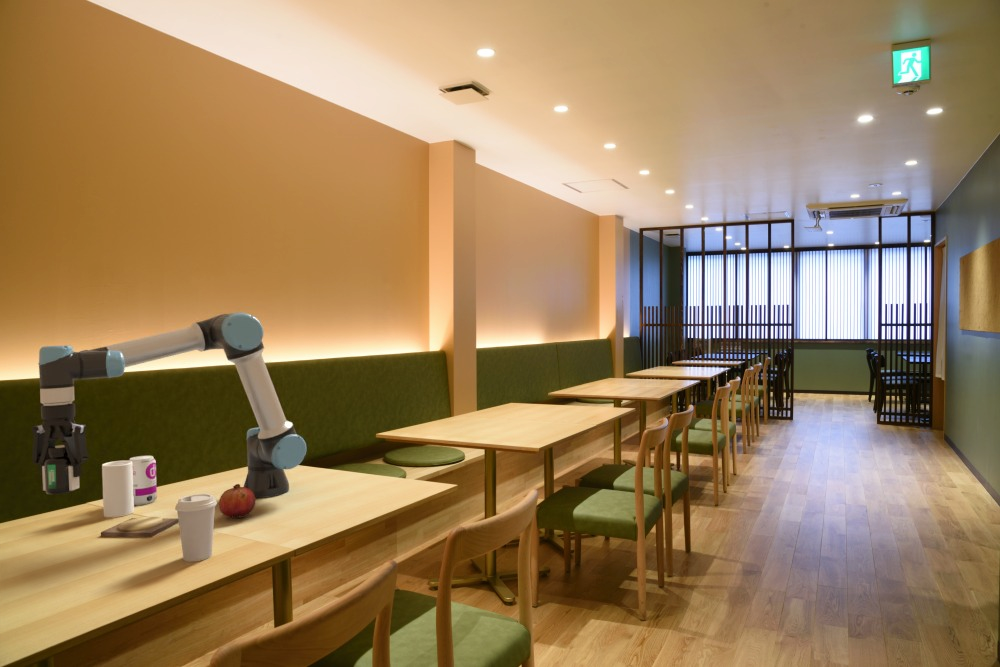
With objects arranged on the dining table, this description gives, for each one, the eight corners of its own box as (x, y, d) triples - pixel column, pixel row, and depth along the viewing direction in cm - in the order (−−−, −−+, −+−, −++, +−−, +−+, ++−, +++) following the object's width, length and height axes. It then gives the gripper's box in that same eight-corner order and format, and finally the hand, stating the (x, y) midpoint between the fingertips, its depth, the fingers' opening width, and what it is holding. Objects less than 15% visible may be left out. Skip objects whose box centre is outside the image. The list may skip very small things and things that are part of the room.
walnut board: (179, 522, 191) (178, 515, 191) (151, 536, 178) (150, 529, 178) (132, 522, 193) (131, 515, 193) (100, 536, 180) (100, 529, 180)
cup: (139, 511, 204) (138, 461, 204) (114, 518, 197) (113, 466, 197) (122, 508, 208) (121, 459, 208) (97, 515, 200) (96, 464, 200)
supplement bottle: (52, 495, 167) (51, 450, 166) (40, 492, 170) (38, 447, 170) (81, 489, 172) (79, 445, 172) (69, 486, 176) (67, 443, 176)
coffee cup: (185, 551, 166) (184, 493, 166) (223, 549, 167) (222, 491, 167) (170, 565, 157) (168, 503, 156) (210, 562, 157) (208, 502, 157)
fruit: (261, 516, 195) (260, 484, 195) (229, 524, 188) (228, 490, 188) (245, 510, 203) (244, 478, 202) (213, 518, 195) (212, 485, 195)
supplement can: (162, 498, 219) (160, 455, 219) (146, 505, 211) (144, 460, 211) (139, 498, 220) (138, 455, 220) (123, 505, 212) (121, 460, 212)
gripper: (102, 401, 174) (105, 485, 174) (35, 402, 176) (38, 485, 176) (81, 404, 166) (85, 492, 167) (11, 405, 168) (15, 493, 169)
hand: (61, 489), depth 171 cm, fingers closed on supplement bottle, 7 cm apart
